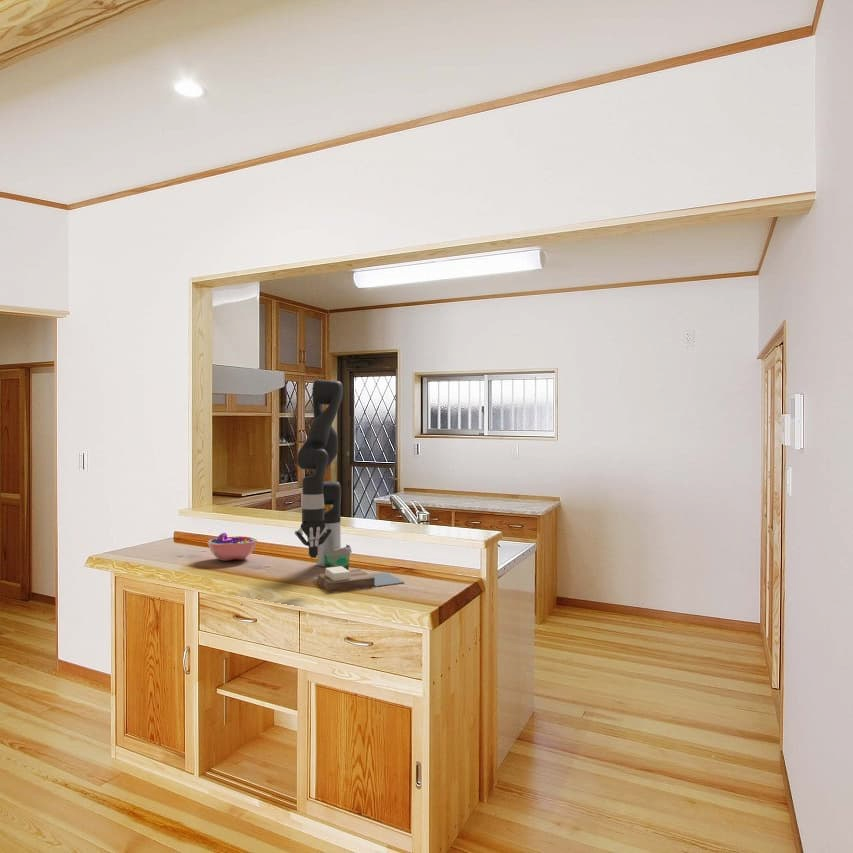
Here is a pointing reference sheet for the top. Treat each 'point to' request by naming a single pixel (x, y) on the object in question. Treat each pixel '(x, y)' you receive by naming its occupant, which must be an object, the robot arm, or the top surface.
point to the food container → (337, 557)
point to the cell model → (231, 547)
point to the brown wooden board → (347, 581)
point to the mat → (385, 579)
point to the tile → (337, 573)
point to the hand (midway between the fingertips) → (313, 557)
